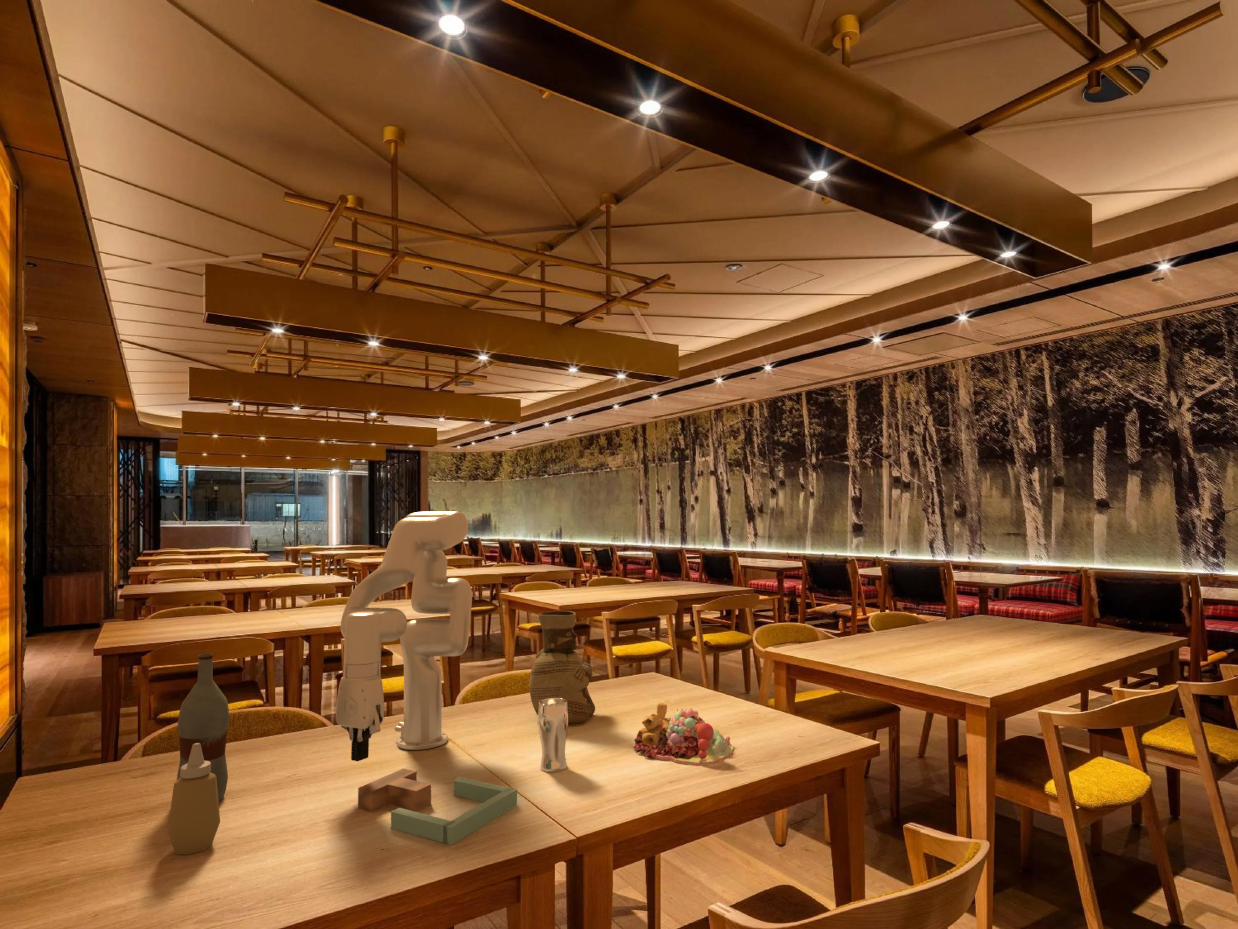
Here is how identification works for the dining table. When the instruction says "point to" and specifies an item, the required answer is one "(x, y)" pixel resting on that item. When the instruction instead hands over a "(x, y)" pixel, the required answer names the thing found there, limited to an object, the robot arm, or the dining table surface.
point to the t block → (395, 792)
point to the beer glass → (553, 733)
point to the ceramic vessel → (561, 668)
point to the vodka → (205, 723)
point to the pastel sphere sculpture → (681, 738)
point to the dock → (453, 831)
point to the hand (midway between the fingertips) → (359, 759)
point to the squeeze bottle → (194, 806)
